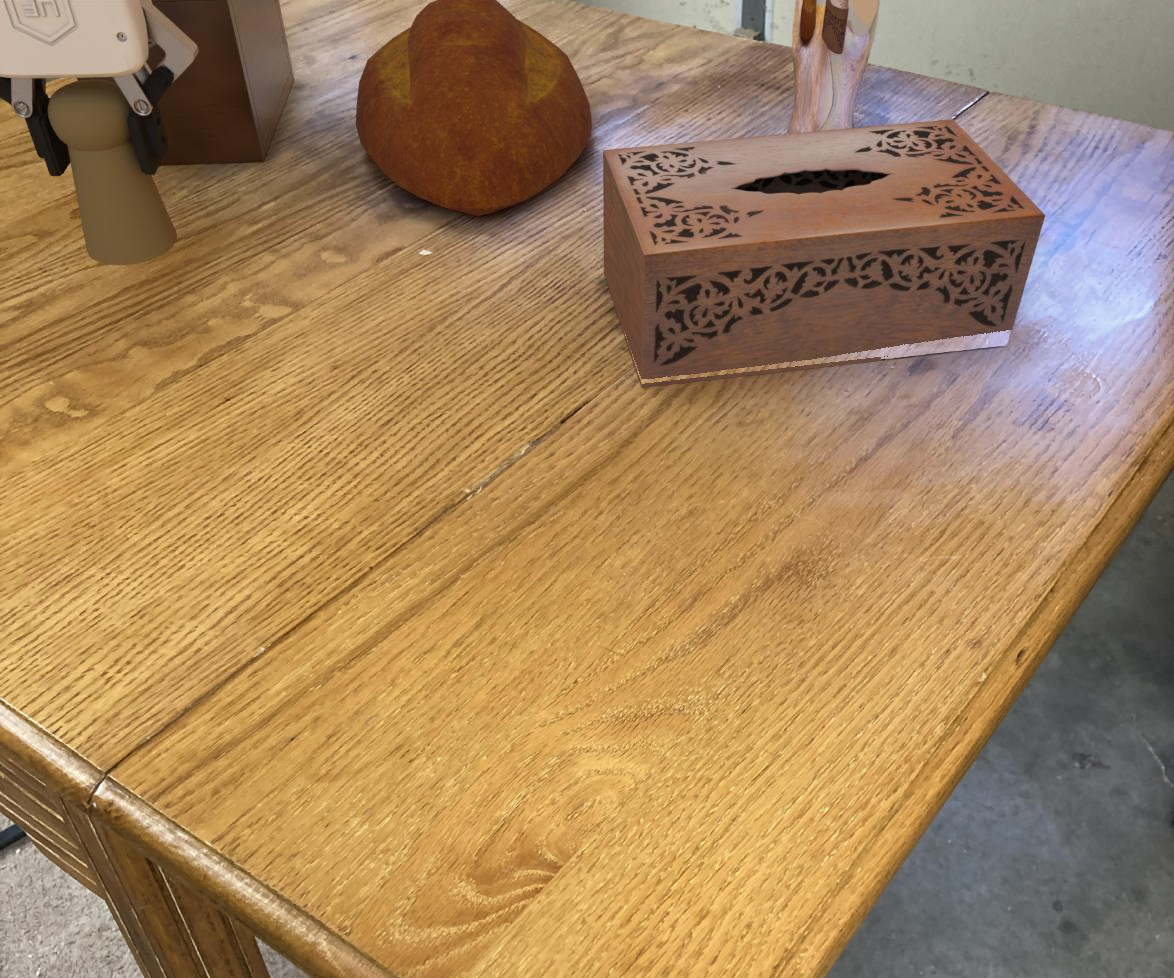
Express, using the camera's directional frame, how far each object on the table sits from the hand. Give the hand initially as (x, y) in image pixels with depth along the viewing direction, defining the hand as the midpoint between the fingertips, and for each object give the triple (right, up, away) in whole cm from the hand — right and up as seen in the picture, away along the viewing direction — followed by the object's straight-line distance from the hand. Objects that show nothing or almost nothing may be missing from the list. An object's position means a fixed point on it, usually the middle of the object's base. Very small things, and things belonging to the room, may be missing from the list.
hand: (108, 163), depth 74 cm
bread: (+22, +10, +28) cm, 37 cm away
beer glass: (+53, +10, +28) cm, 60 cm away
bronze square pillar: (-5, +14, +33) cm, 36 cm away
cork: (0, -4, +4) cm, 6 cm away
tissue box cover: (+47, -9, +8) cm, 48 cm away
